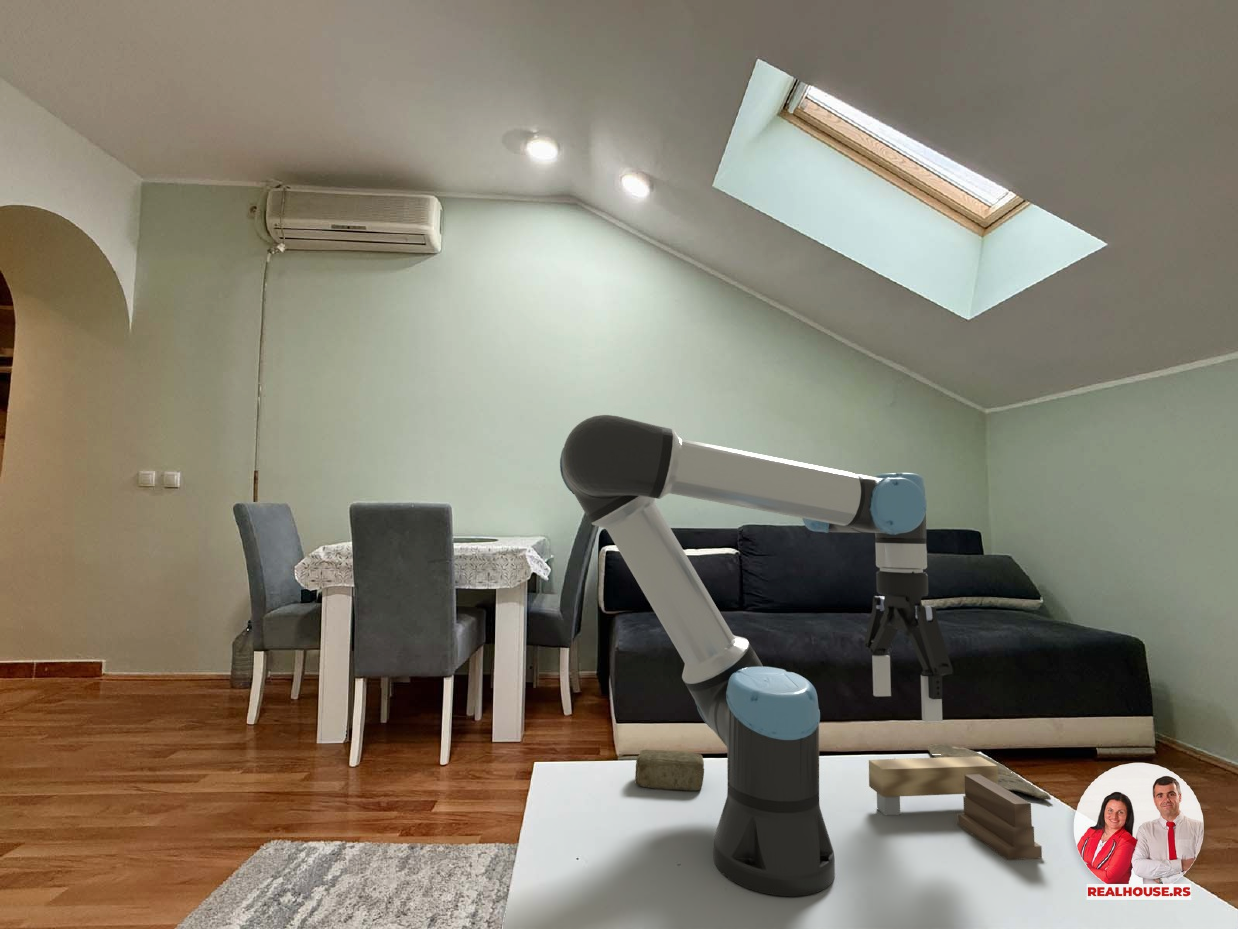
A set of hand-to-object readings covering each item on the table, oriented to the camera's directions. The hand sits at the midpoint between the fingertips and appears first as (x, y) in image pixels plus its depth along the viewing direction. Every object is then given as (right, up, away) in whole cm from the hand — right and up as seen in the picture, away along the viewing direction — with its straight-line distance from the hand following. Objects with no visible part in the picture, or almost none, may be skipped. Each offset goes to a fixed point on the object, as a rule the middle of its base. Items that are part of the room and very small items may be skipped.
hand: (905, 707), depth 100 cm
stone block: (-36, -16, +7) cm, 40 cm away
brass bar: (+4, -13, -1) cm, 13 cm away
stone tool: (+19, -18, +14) cm, 30 cm away
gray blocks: (+4, -16, -1) cm, 16 cm away
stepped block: (+8, -15, -10) cm, 20 cm away
